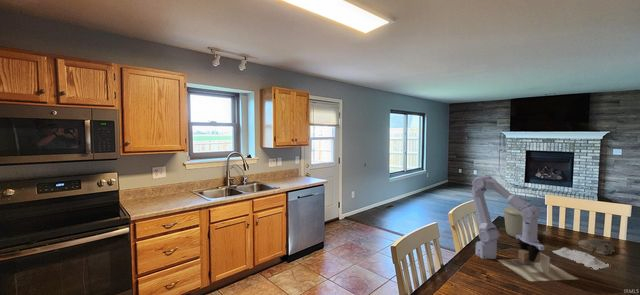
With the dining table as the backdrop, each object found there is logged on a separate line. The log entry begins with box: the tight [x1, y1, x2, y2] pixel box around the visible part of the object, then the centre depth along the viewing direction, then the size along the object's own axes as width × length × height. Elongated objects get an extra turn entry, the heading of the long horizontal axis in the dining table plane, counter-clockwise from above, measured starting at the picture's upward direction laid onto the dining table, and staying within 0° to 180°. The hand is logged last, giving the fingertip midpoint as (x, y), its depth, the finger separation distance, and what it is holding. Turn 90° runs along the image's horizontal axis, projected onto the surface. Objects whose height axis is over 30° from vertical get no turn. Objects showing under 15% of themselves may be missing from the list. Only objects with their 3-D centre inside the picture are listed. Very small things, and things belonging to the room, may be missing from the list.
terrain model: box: [551, 247, 610, 271], centre depth 149 cm, size 17×23×5 cm
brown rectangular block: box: [517, 249, 541, 263], centre depth 134 cm, size 8×4×5 cm, turn 94°
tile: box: [534, 251, 551, 274], centre depth 135 cm, size 2×7×8 cm, turn 3°
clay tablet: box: [577, 237, 616, 256], centre depth 162 cm, size 14×5×20 cm
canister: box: [502, 206, 523, 239], centre depth 181 cm, size 18×18×21 cm
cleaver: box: [542, 230, 571, 240], centre depth 189 cm, size 29×1×10 cm
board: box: [497, 258, 579, 282], centre depth 136 cm, size 24×21×1 cm
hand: (528, 258), depth 134 cm, fingers closed on brown rectangular block, 3 cm apart
